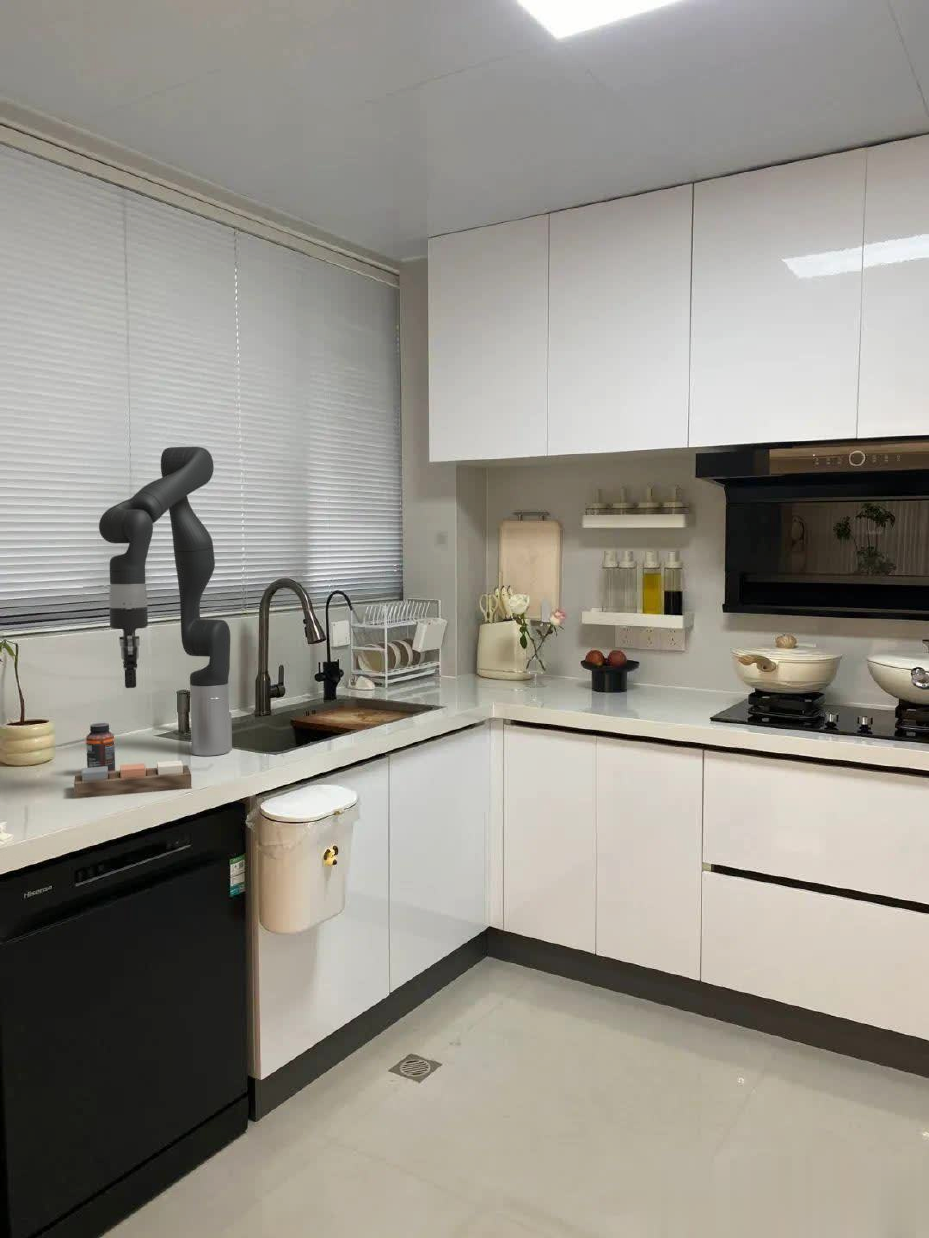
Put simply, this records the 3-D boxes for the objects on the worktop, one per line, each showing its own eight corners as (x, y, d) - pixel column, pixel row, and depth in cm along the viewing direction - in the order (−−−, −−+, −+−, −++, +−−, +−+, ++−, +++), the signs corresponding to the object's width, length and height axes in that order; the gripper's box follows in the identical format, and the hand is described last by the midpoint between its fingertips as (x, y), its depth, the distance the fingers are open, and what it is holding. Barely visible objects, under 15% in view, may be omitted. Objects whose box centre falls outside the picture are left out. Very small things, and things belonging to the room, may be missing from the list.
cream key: (181, 770, 207) (181, 760, 207) (183, 775, 202) (182, 765, 202) (157, 772, 205) (157, 762, 205) (158, 777, 200) (158, 767, 200)
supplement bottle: (119, 770, 217) (117, 721, 216) (110, 776, 211) (108, 726, 210) (92, 770, 217) (91, 722, 216) (83, 777, 211) (81, 726, 210)
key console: (187, 778, 209) (187, 765, 209) (191, 788, 201) (191, 774, 201) (75, 787, 201) (75, 774, 201) (74, 798, 193) (73, 783, 193)
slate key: (107, 776, 202) (107, 766, 201) (108, 781, 197) (107, 771, 197) (82, 778, 200) (82, 768, 200) (82, 783, 195) (81, 773, 195)
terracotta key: (145, 773, 204) (144, 763, 204) (146, 778, 200) (145, 768, 199) (120, 775, 202) (120, 765, 202) (120, 780, 198) (120, 770, 198)
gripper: (109, 604, 203) (111, 684, 204) (109, 607, 191) (112, 692, 192) (146, 603, 206) (148, 682, 207) (148, 606, 194) (150, 690, 195)
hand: (130, 687), depth 200 cm, fingers closed
